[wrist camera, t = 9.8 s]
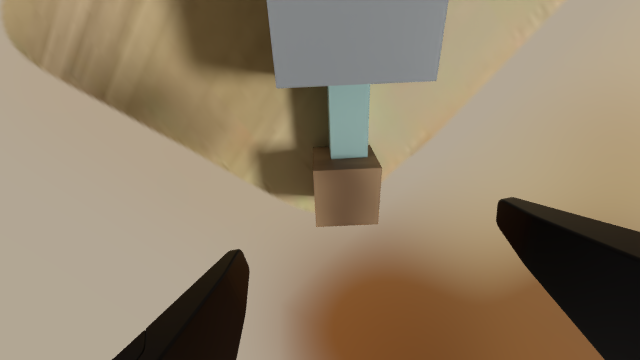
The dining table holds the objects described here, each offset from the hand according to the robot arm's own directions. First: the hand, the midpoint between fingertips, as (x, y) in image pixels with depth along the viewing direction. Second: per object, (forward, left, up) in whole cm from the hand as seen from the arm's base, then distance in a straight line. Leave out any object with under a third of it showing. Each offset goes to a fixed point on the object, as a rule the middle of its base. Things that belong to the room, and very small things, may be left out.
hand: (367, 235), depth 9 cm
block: (0, +4, -13) cm, 13 cm away
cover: (0, -7, -13) cm, 15 cm away
